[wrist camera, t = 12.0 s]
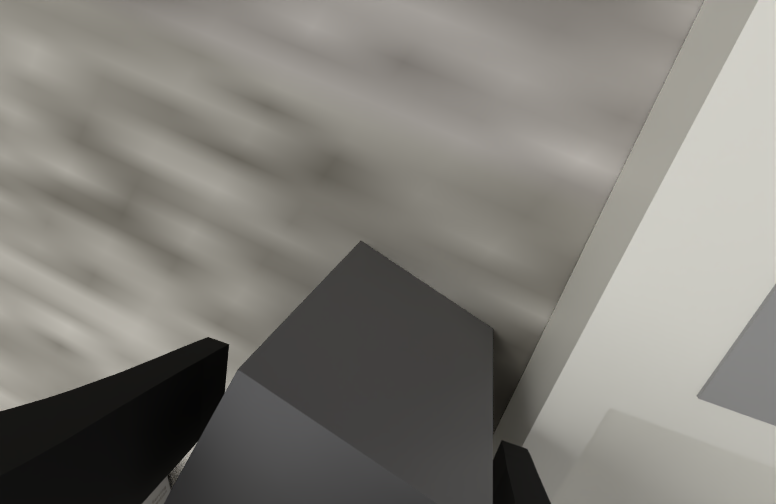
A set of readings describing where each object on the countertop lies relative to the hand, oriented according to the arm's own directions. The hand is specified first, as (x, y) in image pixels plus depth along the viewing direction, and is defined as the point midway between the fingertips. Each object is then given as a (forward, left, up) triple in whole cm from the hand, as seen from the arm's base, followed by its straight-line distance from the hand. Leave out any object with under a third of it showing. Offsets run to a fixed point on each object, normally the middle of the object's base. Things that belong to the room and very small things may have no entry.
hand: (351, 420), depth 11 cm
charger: (0, 0, -4) cm, 4 cm away
